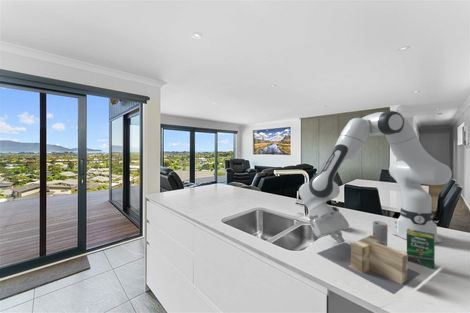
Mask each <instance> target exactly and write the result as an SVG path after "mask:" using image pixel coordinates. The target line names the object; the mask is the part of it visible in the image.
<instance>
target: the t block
mask: <svg viewBox="0 0 470 313" xmlns="http://www.w3.org/2000/svg"><path fill="white" fill-rule="evenodd" d="M350 245H351V267H352V268H354V269H356V270H358V271H360V272H364V271H366V270H367V269H371V270H374V271H376V272H378V273H380V274H382V275H384V276H386V277H388V278H390V279H392V280H394V281H397V282H399V283H401V284H403V283H404V282H405V281H407V269H409V268H408V264H409V263H408V262H409V261H408V254H407V252H404V251H400V250H399V249H395V248H392V247H389V246H388V245H387V246H384V245H382V239H380V238H377V237H374V236H373V235H369V236H367V237H363V238H361V239H359V240H356V241H354V242H351V243H350Z"/></svg>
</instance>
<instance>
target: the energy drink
mask: <svg viewBox="0 0 470 313" xmlns="http://www.w3.org/2000/svg"><path fill="white" fill-rule="evenodd" d="M388 227H389V225H388V224H387V223H386V222H384V221H380V220H379V221H378V220H375V221H373V222H372V236H374V237H377V238H380V239H382V245H384V246H387V247H388V230H389V229H388Z"/></svg>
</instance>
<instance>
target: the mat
mask: <svg viewBox="0 0 470 313" xmlns="http://www.w3.org/2000/svg"><path fill="white" fill-rule="evenodd" d="M316 254H317V255H319V256H321V257H323V259H327V260H329V261H330V262H333V263H334V264H336V265H338V266H340V267H342V268H343V269H345V270H347V271H349V272H350V273H353V274H355V276H359V277H361V278H362V279H364V280H366V281H368V282H370V283H372V284H374V285H375V286H377V287H380V288H381V289H383V290H385V291H387V292H389V293H390V294H392V295H395V294H397V293H398V292H399V291H400V290H402V288H404V287H405V286H406V285H408V284H409V283H410V282H412V281H413V280H414V279H416V277H418V276H419V275H421V273H420V272H417V271H415V270H412V269H410V268H408V269H407V281H405V282H404V283H403V284H401V283H399V282H397V281H394V280H392V279H390V278H388V277H386V276H384V275H382V274H380V273H378V272H376V271H374V270H371V269H367V270H366V271H364V272H360V271H358V270H356V269H354V268H352V267H351V243H350V244H349V243H347V242H345V241H344V242H342V243H339V244H337V245H334V246H332V247H329V248H326V249H324V250H322V251H319V252H317V253H316Z"/></svg>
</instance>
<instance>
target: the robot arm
mask: <svg viewBox="0 0 470 313" xmlns="http://www.w3.org/2000/svg"><path fill="white" fill-rule="evenodd" d="M369 136H370V137H379V136H385V138H386V141H387V142H388V143H387V144H388V145H389V148H390V149H391V152H392V154H393V156H395V157H396V158H397V159H398V160H397V161H396V160H395V161H393V162H392V163H391V164H390V165H389V168H388V172H389V175H390V177H392V178H393V180H395V181H396V183H397V185H398V187H399V190H400V193H401V207H400V215H399V217H398V218H397V219H394V221H393V222H394V224H393V225H392V226H393V227H392V232H391V235H393V236H397V237H399V238H401V239H404V240H406V241H407V229H413V230H417V231H422V232H426V233H432V234H434V244H436V243H442V239H441V238H440V237H438V229H437V228H438V226H437V224H436V223H435V222H434V221H433V218H434V215H433V212H432V203H433V201H432V200H433V198H432V195H431V194H430V193H429V192H428V191H426V190H425V189H424V187H423V186H422V185H429V186H442V185H445V184H448V183H449V181H450V180H451V179H452V175H453V174H452V173H453V172H452V169H451V168H450V166H449V165H447V164H445V163H443V162H441V161H439V160H437V159H435V157H433V156H431V155H430V154H429V152H427V151H426V150H425V148H424V147H423V144H422V143H421V142H420V140H419V138H418V136H417V133H416V131H415V130H414V127H413V126H412V124H411V122H409V120H408V119H407V118H406V117H404V116H403V115H402V114H401V113H400V112H398V111H393V110H386V111H379V112H373V113H370V114H366V115H363V116H360V117H354V118H352V119H350V120H348V122H347V124H346V125H345V126H344V128H343V129H342V131H341V133H340V134H339V137H338V138H337V141H336V142H335V145H334V147H333V148H332V149H331V151H330V152H329V154H328V156H327V158H326V159H325V160H324V163H323V164H322V166H321V168H320V170H318V172H317V173H316V174H314V175H313V176H312V177H311V178H310V180H309V181H307V182H305V183H302V185H300V186H299V189H298V194H299V197H300V199H301V200H302V202H303V203H304V205H305V207H307V208H308V211H309V213H310V215H311V216H310V217H308V222H309V224H310V227H311V229H312V232H313V233H314V235H315V236H316V237H317V239H321V238H323V237H327V236H330V237H331V238H332V239H333V240H335V241H336V243H337V245H339V244H341V243H344V242H345V239H344V237H343V232H342V231H344V230H346V229H348V228H349V227H350V224H349V222H348V220H347V219H346V217H345V216H344V214H342V212H340V209H339V208H338V207H337V206H331V205H328V204H327V202H329V201H331V200H334V199H335V198H337V197H338V196H339V194H340V192H341V191H340V190H341V189H340V186H339V185H338V183H337V182H336V181H334V179H335V176H336V174H337V172H338V171H339V169H340V167H341V166H342V164H343V163H344V162H345V161H346V160H349V159H353V158H356V157H357V156H358V155H359V153H360V152H362V149H363V148H364V146H365V144H366V141H367V139H368V137H369Z"/></svg>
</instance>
